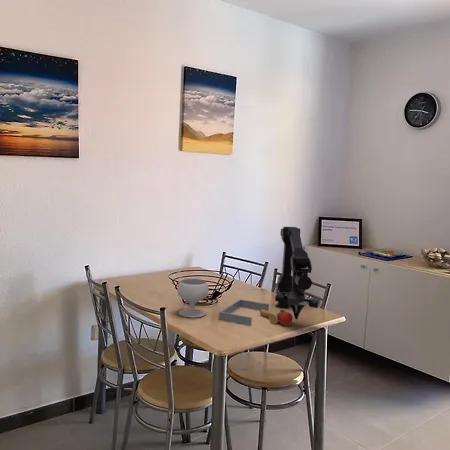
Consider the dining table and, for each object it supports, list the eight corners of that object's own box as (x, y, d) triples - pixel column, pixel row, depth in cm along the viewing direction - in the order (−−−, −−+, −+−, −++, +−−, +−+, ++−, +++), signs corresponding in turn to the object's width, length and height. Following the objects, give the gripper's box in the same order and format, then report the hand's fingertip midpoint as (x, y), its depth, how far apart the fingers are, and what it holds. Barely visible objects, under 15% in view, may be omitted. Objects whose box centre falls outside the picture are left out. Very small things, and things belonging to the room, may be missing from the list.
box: (239, 306, 223) (239, 299, 222) (268, 311, 217) (269, 304, 217) (218, 319, 201) (219, 312, 201) (250, 325, 196) (251, 317, 195)
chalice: (207, 309, 215) (208, 278, 213) (207, 319, 201) (209, 286, 199) (177, 308, 214) (178, 277, 212) (175, 318, 200) (176, 284, 199)
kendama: (254, 320, 208) (283, 326, 193) (256, 306, 208) (284, 311, 194) (267, 320, 212) (296, 326, 198) (268, 306, 213) (297, 311, 199)
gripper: (271, 284, 194) (269, 320, 196) (316, 291, 186) (313, 328, 188) (279, 279, 204) (277, 313, 206) (322, 285, 197) (319, 320, 198)
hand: (296, 319), depth 199 cm, fingers closed
